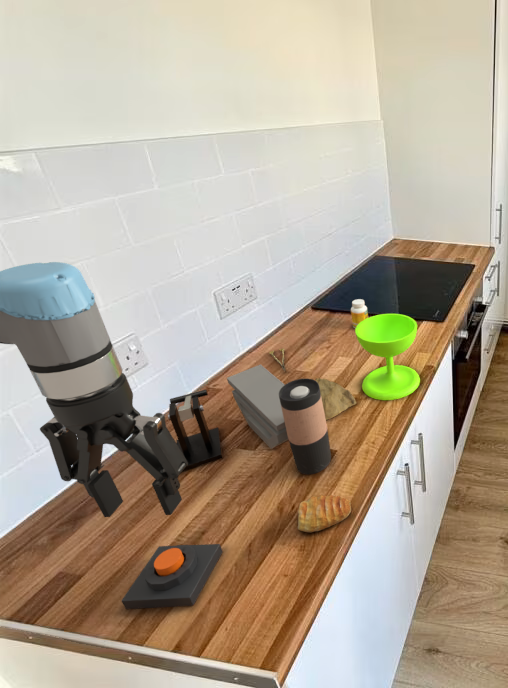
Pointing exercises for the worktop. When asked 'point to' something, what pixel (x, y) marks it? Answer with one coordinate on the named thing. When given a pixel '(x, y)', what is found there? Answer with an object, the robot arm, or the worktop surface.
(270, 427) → the sharpening stone
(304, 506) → the pastry
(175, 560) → the button
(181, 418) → the switch lever
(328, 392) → the rock
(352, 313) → the supplement bottle
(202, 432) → the switch bracket
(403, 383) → the wineglass
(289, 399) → the travel mug
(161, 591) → the button block
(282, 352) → the tongs
